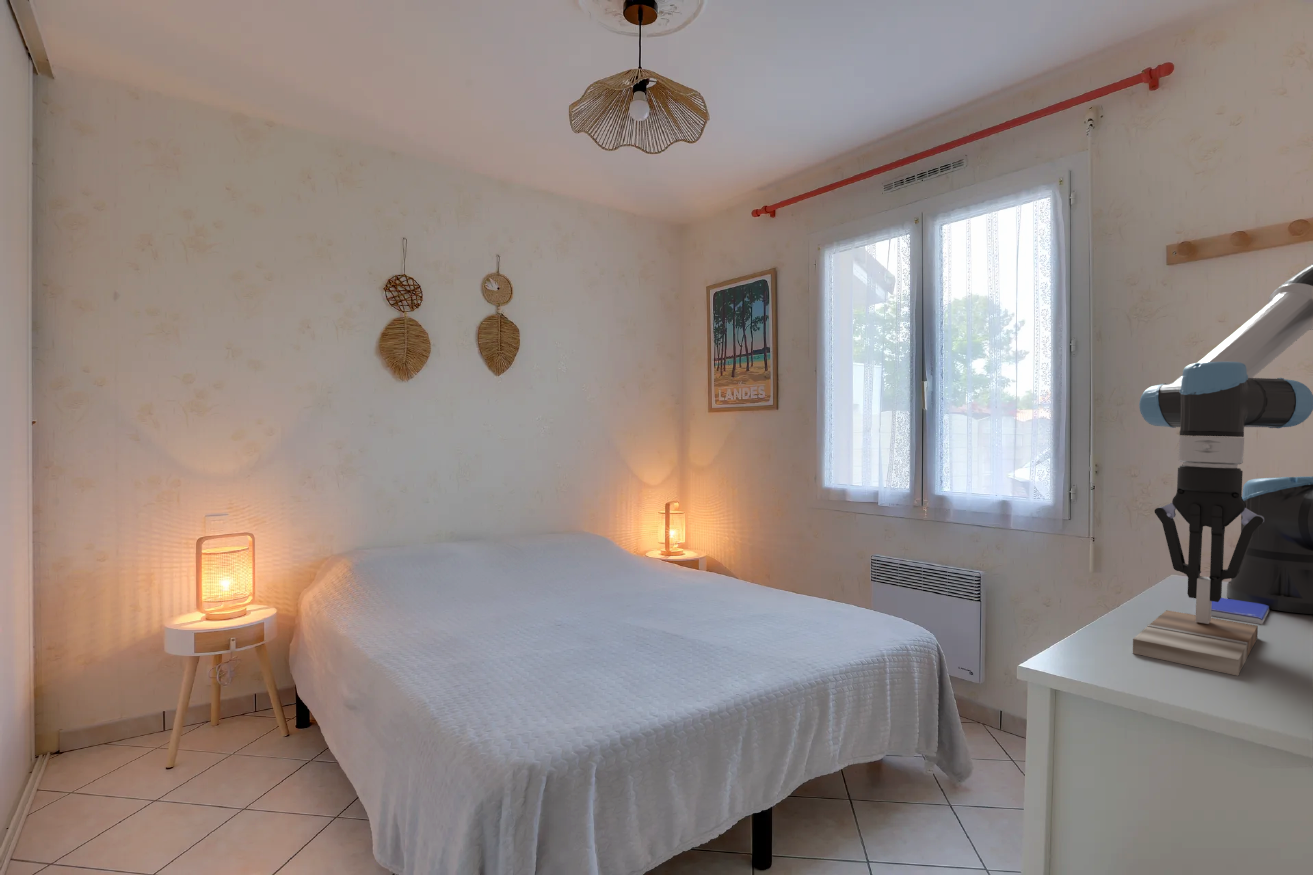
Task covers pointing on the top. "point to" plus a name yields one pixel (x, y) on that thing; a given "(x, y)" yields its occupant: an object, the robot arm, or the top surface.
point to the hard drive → (1240, 610)
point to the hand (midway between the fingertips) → (1203, 620)
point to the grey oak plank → (1191, 649)
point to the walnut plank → (1209, 627)
